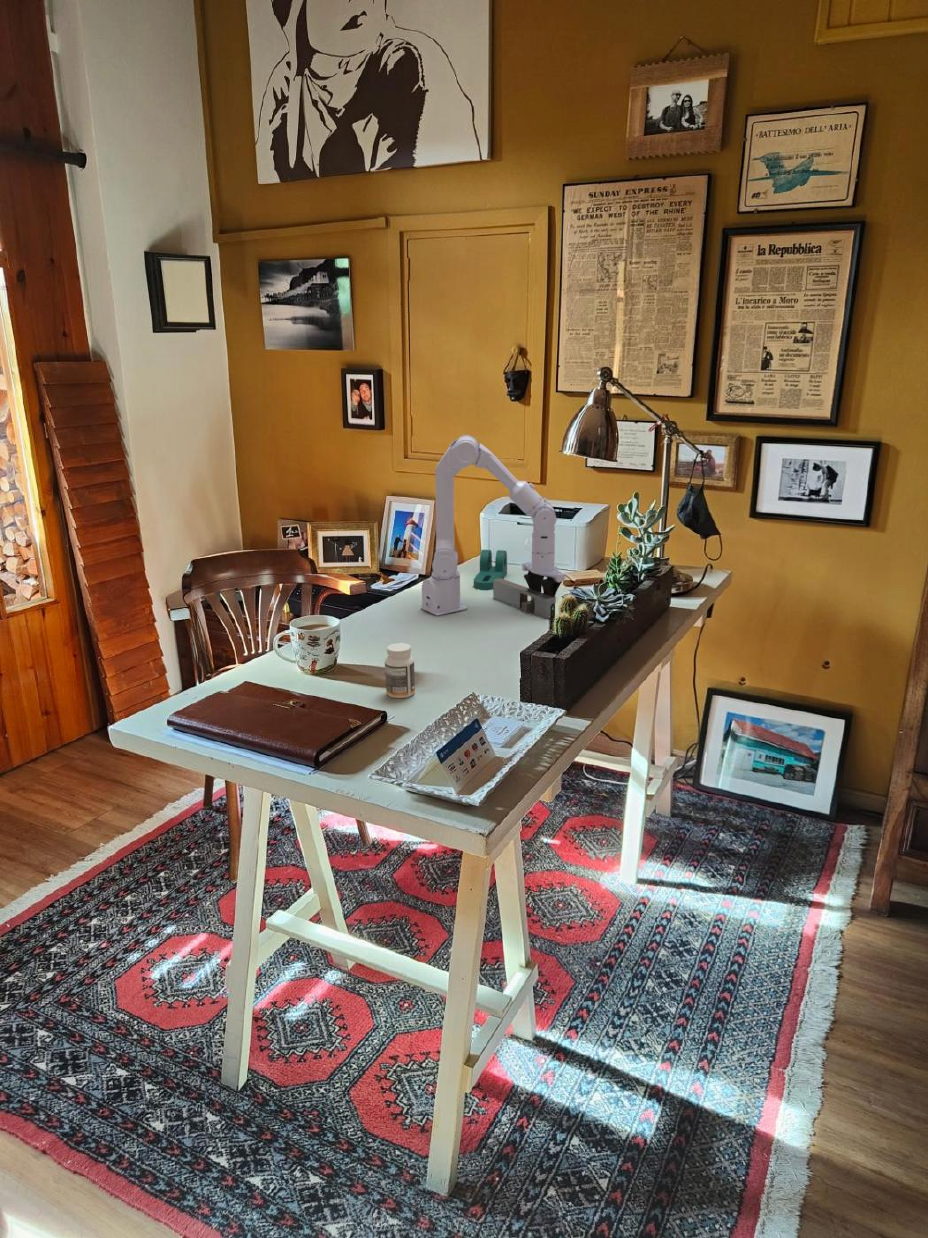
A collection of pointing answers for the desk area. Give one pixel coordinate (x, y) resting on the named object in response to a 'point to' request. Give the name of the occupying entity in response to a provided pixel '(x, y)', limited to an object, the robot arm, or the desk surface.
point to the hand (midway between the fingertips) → (542, 602)
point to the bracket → (490, 569)
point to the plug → (530, 605)
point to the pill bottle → (399, 671)
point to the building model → (521, 596)
